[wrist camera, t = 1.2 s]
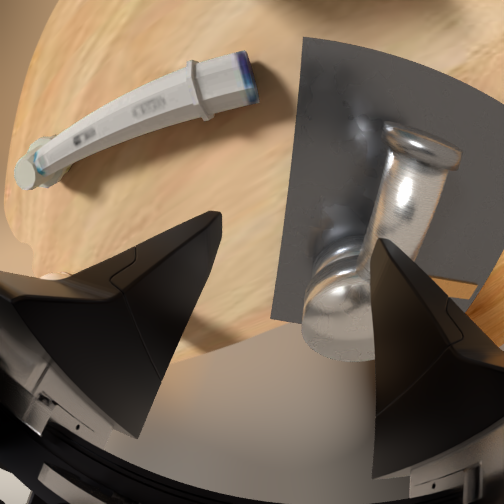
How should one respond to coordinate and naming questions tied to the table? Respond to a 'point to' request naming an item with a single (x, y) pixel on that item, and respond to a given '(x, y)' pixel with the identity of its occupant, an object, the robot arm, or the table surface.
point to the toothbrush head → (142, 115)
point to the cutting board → (372, 165)
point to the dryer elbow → (380, 226)
